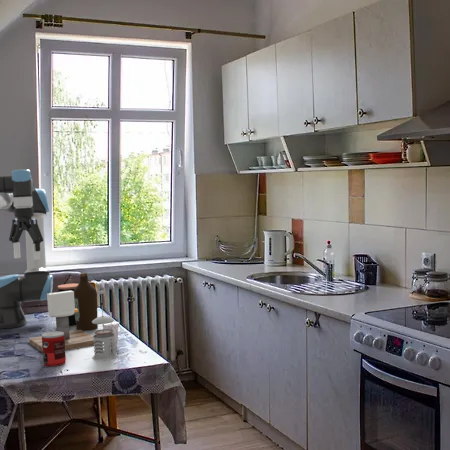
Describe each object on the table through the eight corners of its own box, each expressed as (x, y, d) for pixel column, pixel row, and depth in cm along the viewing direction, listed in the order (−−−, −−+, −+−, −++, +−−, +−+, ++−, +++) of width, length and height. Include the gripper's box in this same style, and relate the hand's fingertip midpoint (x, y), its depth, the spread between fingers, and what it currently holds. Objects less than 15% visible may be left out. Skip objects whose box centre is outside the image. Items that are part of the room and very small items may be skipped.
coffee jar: (77, 326, 297) (75, 287, 296) (55, 326, 299) (53, 287, 298) (87, 321, 307) (84, 283, 306) (66, 321, 309) (63, 283, 308)
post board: (29, 343, 269) (27, 315, 268) (80, 334, 281) (79, 307, 280) (44, 353, 250) (42, 323, 250) (99, 344, 262) (97, 315, 261)
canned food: (45, 361, 240) (43, 332, 239) (67, 359, 240) (65, 330, 240) (41, 367, 232) (39, 337, 231) (64, 365, 233) (62, 335, 232)
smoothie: (106, 350, 251) (104, 314, 250) (102, 347, 257) (99, 312, 256) (122, 348, 254) (120, 312, 253) (117, 344, 260) (115, 309, 259)
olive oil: (96, 324, 298) (93, 270, 296) (101, 329, 289) (98, 273, 287) (73, 327, 294) (69, 272, 292) (77, 332, 284) (73, 275, 283)
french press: (106, 352, 249) (102, 287, 247) (127, 356, 242) (123, 289, 240) (86, 358, 241) (82, 291, 240) (106, 362, 234) (102, 294, 232)
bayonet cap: (53, 318, 258) (52, 295, 257) (46, 314, 266) (44, 292, 266) (81, 313, 264) (80, 291, 263) (73, 310, 272) (72, 289, 272)
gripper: (49, 206, 263) (53, 258, 265) (13, 207, 279) (17, 256, 280) (34, 207, 257) (37, 261, 259) (-2, 208, 273) (1, 258, 274)
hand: (27, 258), depth 269 cm, fingers open, 13 cm apart
